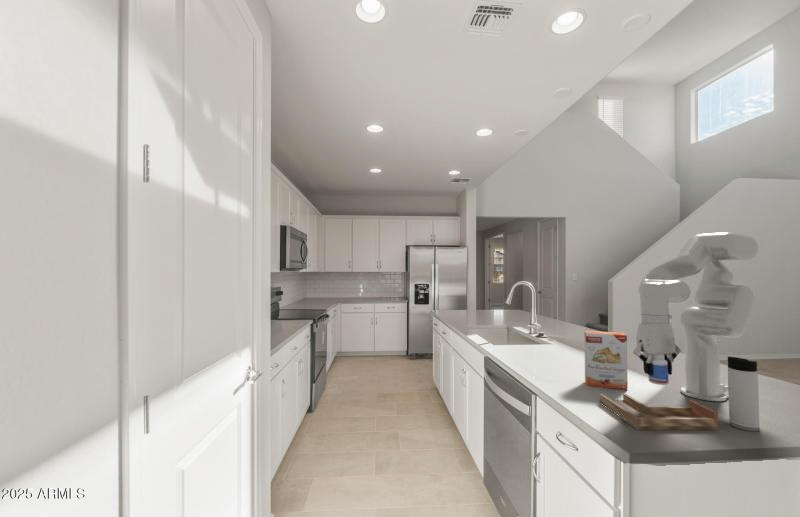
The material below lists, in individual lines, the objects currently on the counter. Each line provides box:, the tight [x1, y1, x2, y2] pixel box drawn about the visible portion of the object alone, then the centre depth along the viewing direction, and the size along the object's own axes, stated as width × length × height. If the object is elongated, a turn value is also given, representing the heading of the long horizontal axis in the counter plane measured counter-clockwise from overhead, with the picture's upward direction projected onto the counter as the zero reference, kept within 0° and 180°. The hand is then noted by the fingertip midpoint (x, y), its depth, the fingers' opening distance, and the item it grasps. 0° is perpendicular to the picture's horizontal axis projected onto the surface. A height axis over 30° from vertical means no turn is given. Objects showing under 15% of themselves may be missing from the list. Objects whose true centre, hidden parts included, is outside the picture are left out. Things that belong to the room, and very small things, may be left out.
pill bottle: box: [647, 354, 670, 386], centre depth 117 cm, size 6×5×10 cm
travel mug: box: [727, 356, 760, 432], centre depth 102 cm, size 6×7×20 cm
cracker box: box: [583, 330, 629, 390], centre depth 138 cm, size 14×6×21 cm, turn 68°
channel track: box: [599, 393, 719, 431], centre depth 110 cm, size 22×20×5 cm
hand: (658, 373), depth 117 cm, fingers closed on pill bottle, 5 cm apart
